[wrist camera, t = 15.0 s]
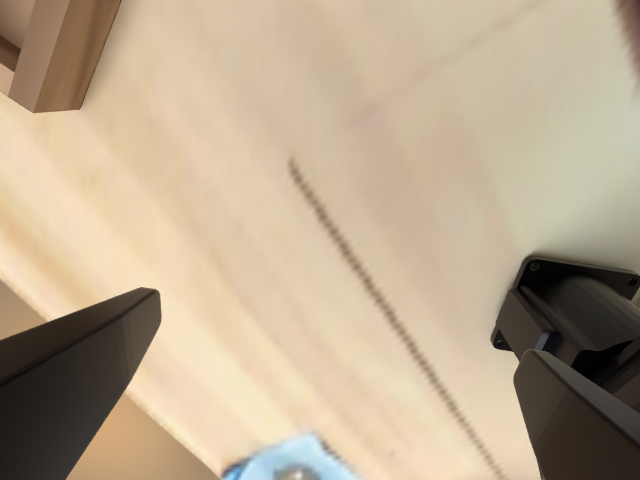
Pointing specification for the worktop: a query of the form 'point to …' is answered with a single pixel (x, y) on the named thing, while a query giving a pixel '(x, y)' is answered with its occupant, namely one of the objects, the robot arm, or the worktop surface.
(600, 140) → the worktop surface
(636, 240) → the worktop surface
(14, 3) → the brown wooden flat frame
